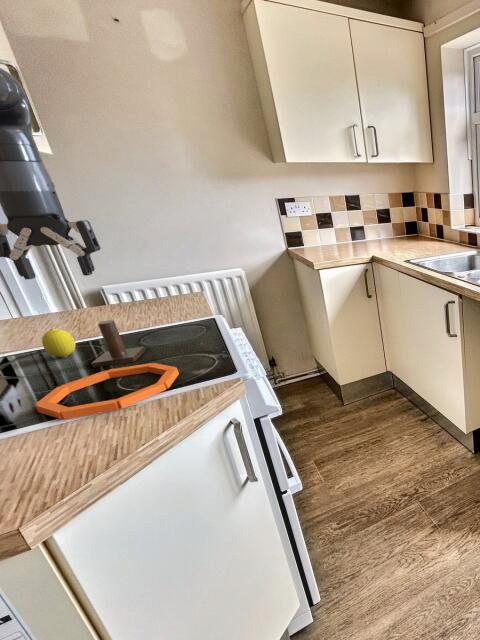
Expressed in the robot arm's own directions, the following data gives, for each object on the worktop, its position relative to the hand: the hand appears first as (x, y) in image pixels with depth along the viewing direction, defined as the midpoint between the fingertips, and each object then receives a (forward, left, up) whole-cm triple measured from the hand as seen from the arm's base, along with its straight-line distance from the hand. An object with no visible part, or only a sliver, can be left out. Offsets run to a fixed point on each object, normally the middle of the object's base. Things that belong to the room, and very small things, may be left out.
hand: (60, 276), depth 82 cm
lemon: (-17, +27, -25) cm, 40 cm away
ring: (+3, -4, -24) cm, 25 cm away
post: (-3, +18, -24) cm, 31 cm away
